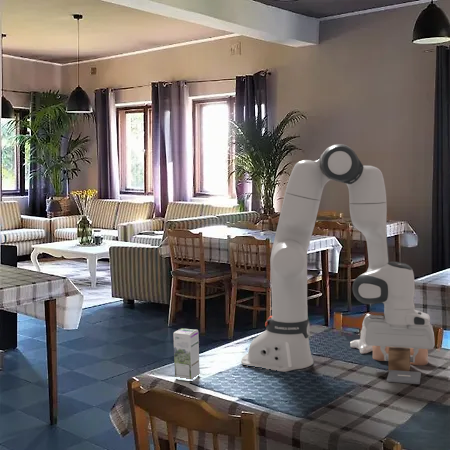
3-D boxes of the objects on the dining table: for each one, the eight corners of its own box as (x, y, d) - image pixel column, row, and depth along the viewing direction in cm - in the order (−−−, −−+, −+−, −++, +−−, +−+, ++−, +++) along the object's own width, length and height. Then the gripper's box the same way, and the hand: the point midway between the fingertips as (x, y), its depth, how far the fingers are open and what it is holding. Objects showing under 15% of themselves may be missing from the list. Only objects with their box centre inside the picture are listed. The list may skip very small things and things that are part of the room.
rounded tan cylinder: (371, 360, 214) (371, 344, 214) (373, 354, 220) (373, 339, 219) (391, 361, 212) (390, 346, 212) (392, 356, 218) (392, 340, 217)
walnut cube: (388, 370, 204) (388, 350, 203) (390, 364, 209) (390, 345, 209) (409, 371, 202) (409, 352, 201) (410, 365, 207) (410, 346, 207)
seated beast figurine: (348, 346, 230) (348, 311, 228) (371, 344, 232) (371, 309, 231) (361, 354, 221) (361, 318, 219) (385, 351, 223) (385, 315, 222)
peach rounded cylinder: (407, 364, 209) (407, 348, 208) (408, 359, 214) (408, 343, 214) (427, 366, 207) (427, 350, 206) (428, 360, 212) (428, 344, 212)
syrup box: (200, 376, 202) (199, 329, 201) (191, 382, 197) (189, 333, 196) (183, 374, 205) (182, 327, 203) (174, 380, 199) (172, 332, 198)
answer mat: (386, 381, 194) (386, 379, 194) (389, 371, 202) (389, 369, 202) (419, 384, 191) (419, 381, 191) (421, 374, 199) (421, 371, 199)
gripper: (363, 316, 204) (363, 361, 206) (434, 320, 198) (434, 366, 199) (365, 312, 210) (365, 355, 212) (434, 315, 204) (434, 360, 205)
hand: (399, 361), depth 205 cm, fingers closed on walnut cube, 6 cm apart
